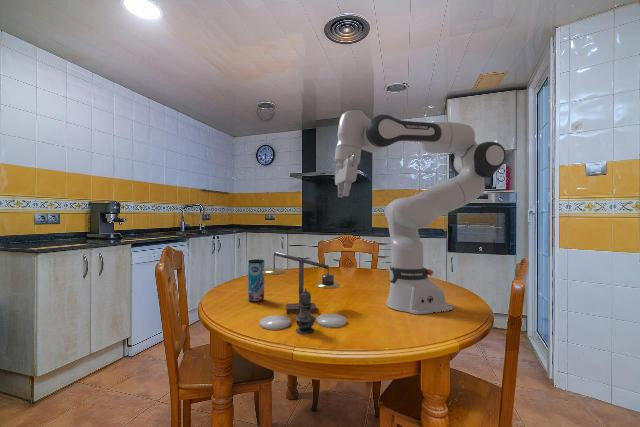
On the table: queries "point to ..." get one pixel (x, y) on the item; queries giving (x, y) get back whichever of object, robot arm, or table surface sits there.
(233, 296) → the table surface
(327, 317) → the dish low side
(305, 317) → the chess piece
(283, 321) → the dish high side
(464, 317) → the table surface
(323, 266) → the balance
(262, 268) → the beverage can
